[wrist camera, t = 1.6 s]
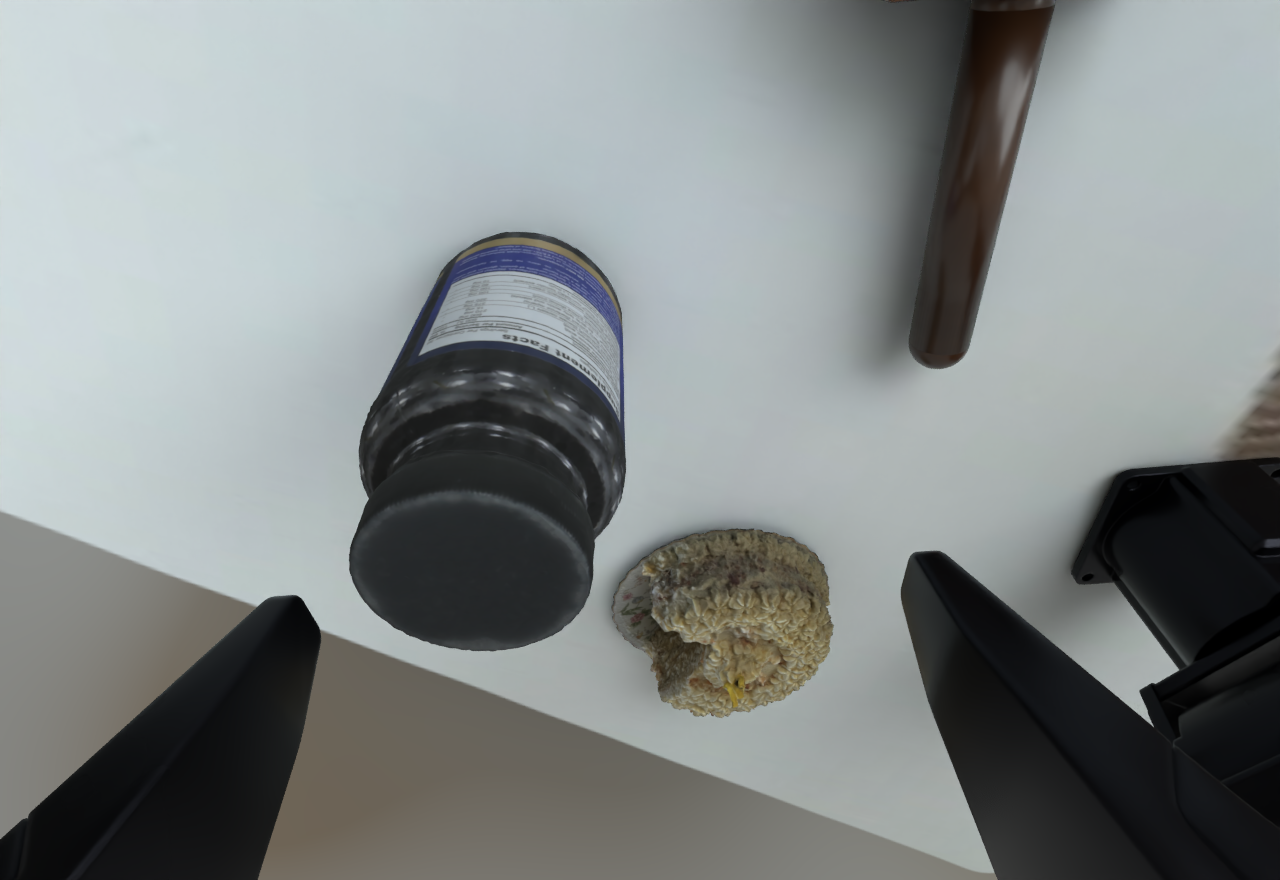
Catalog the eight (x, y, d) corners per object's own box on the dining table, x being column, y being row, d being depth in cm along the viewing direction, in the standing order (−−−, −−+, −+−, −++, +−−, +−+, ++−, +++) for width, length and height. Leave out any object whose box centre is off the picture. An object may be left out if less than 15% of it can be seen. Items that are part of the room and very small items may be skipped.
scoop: (1024, 337, 23) (1072, 385, 20) (817, 355, 23) (840, 405, 20) (1318, -621, 11) (1504, -765, 9) (900, -566, 11) (972, -690, 9)
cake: (824, 496, 28) (874, 600, 23) (823, 636, 34) (862, 738, 30) (590, 543, 28) (597, 654, 24) (631, 674, 34) (643, 780, 30)
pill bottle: (538, 424, 24) (494, 705, 16) (394, 317, 21) (242, 585, 13) (662, 317, 22) (692, 581, 13) (517, 180, 19) (432, 399, 10)
